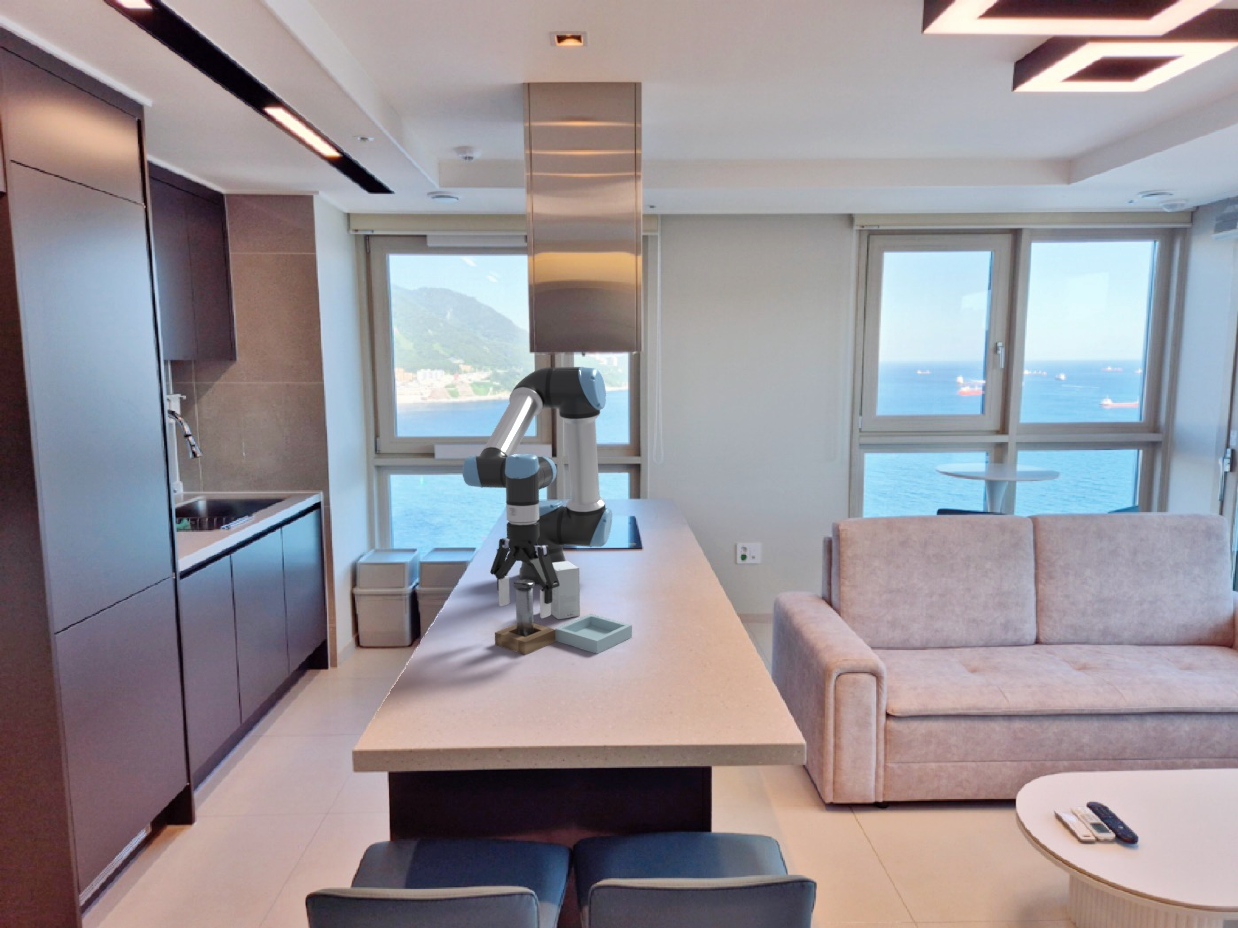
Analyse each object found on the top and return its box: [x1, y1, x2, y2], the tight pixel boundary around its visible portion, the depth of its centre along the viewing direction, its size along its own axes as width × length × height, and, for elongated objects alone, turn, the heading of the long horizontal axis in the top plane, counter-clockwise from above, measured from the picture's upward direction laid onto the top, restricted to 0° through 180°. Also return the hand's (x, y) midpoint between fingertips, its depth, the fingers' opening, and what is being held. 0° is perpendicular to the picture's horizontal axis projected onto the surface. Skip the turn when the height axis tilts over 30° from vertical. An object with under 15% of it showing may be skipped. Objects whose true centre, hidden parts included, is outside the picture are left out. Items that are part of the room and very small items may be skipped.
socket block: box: [494, 623, 556, 656], centre depth 177 cm, size 10×10×3 cm
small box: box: [551, 560, 581, 620], centre depth 197 cm, size 8×6×13 cm
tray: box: [554, 613, 633, 655], centre depth 180 cm, size 13×13×3 cm
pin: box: [513, 579, 536, 637], centre depth 177 cm, size 5×5×15 cm
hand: (524, 610), depth 176 cm, fingers open, 13 cm apart
